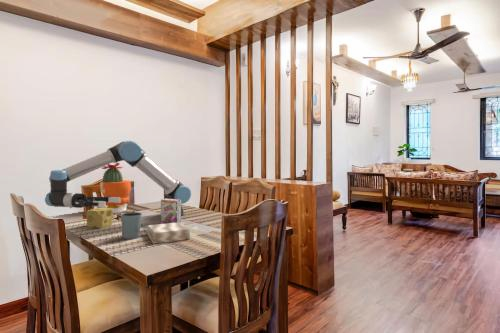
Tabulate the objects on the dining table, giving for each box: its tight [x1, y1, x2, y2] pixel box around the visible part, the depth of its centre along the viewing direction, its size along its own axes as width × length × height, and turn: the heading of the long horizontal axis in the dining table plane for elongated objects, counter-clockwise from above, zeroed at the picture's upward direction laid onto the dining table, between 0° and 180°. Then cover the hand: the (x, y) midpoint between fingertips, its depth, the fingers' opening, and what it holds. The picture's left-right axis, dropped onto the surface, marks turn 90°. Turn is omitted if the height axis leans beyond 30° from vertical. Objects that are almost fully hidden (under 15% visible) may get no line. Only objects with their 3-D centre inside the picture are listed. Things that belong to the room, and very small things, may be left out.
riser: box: [146, 222, 191, 244], centre depth 162 cm, size 18×18×5 cm
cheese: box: [86, 207, 114, 229], centre depth 183 cm, size 10×11×10 cm
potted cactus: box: [98, 162, 132, 214], centre depth 227 cm, size 22×22×35 cm
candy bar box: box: [160, 198, 182, 224], centre depth 181 cm, size 11×5×16 cm, turn 71°
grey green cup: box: [120, 211, 143, 240], centre depth 161 cm, size 10×10×12 cm
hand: (112, 202), depth 161 cm, fingers open, 13 cm apart
